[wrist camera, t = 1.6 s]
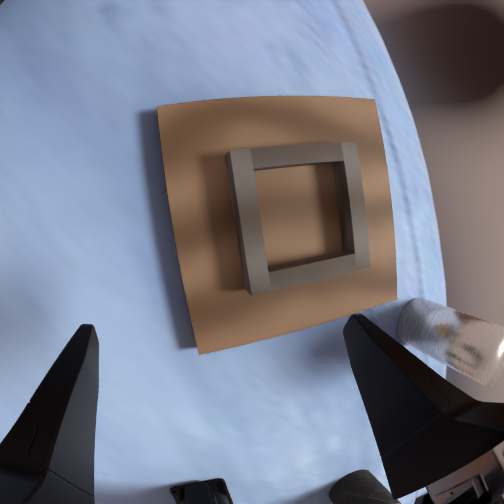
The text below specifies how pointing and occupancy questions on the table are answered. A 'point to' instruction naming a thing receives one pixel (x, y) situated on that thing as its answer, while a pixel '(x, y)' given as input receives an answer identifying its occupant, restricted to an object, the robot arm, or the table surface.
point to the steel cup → (454, 339)
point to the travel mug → (360, 490)
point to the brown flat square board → (277, 213)
